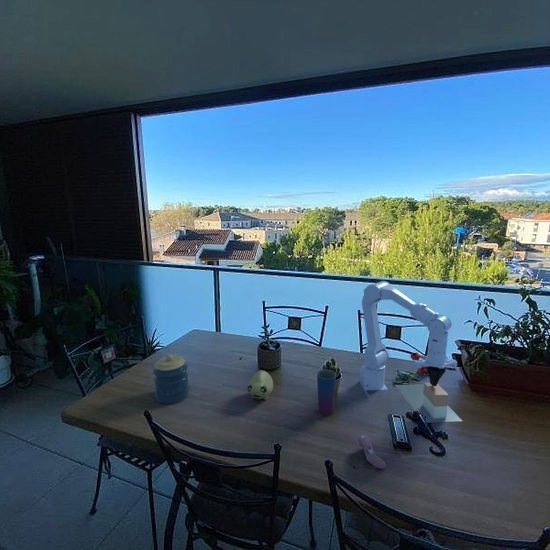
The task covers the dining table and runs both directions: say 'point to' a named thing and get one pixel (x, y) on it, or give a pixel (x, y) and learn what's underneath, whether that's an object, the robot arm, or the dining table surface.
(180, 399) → the canister
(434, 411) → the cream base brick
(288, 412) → the dining table surface
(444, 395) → the tan rectangular block
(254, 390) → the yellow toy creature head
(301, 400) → the dining table surface
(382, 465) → the pink curved figurine
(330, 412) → the cup
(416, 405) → the baseplate
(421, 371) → the toy fire truck
